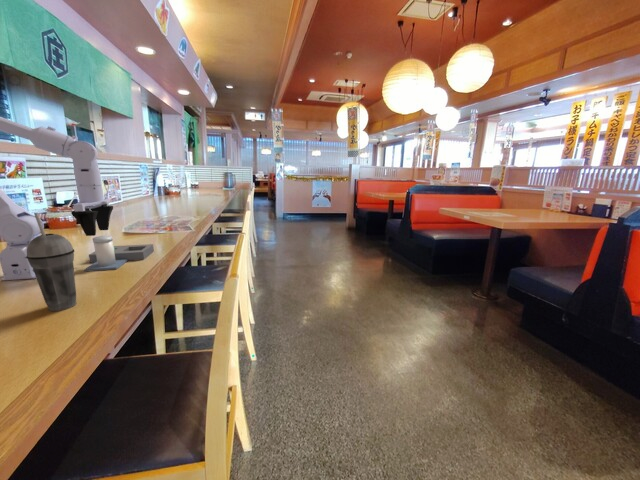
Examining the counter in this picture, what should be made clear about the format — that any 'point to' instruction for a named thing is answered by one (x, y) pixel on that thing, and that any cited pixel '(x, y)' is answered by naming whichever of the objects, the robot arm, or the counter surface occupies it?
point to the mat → (111, 267)
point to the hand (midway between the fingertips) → (97, 232)
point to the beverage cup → (53, 268)
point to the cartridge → (104, 250)
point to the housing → (128, 252)
